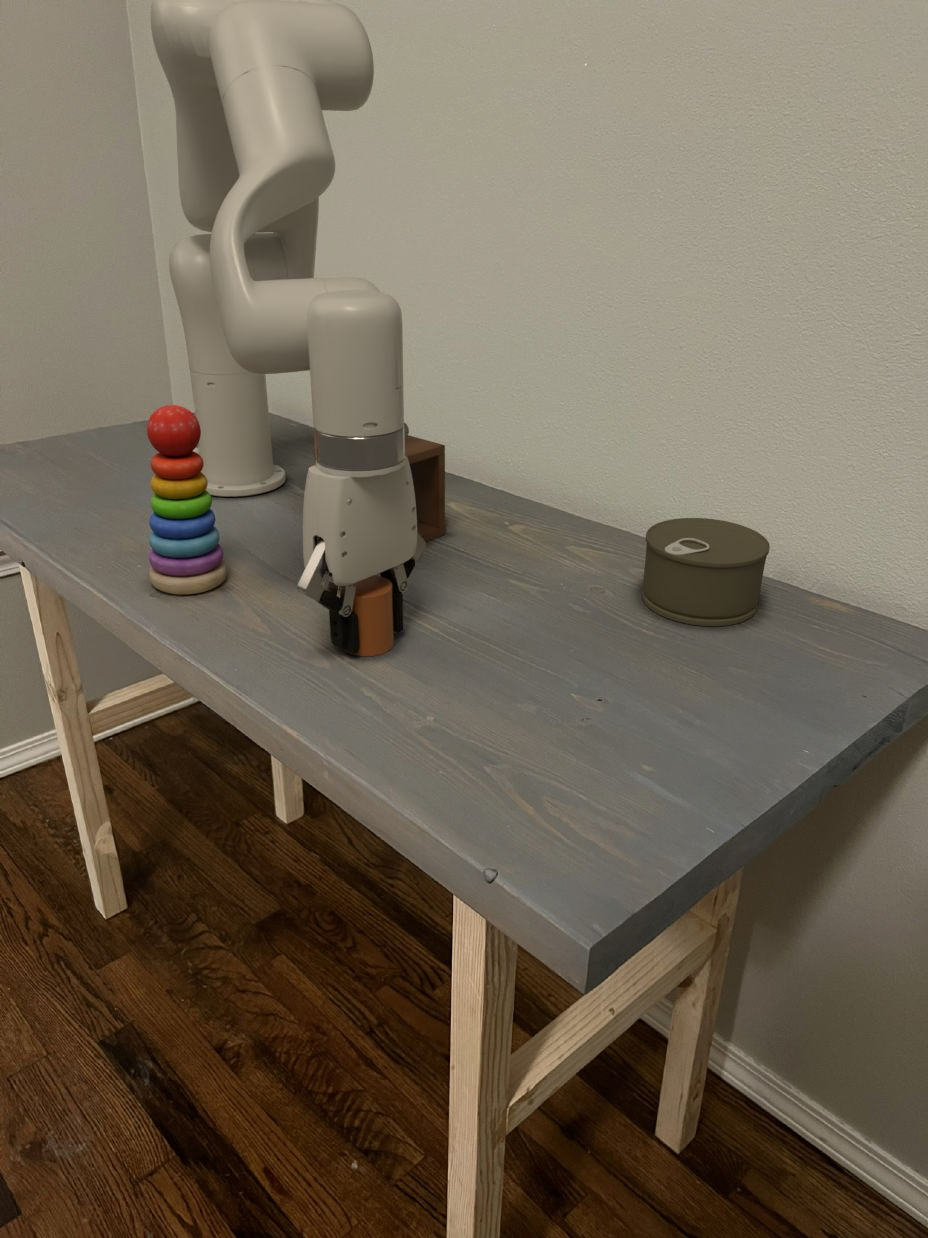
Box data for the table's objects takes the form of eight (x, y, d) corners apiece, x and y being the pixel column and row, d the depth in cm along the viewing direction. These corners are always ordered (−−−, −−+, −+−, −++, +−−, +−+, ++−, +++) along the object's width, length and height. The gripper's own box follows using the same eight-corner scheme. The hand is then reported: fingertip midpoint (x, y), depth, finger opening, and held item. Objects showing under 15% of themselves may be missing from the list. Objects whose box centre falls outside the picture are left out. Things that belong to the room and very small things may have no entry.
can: (783, 607, 94) (795, 544, 91) (705, 639, 88) (714, 573, 85) (692, 568, 103) (700, 509, 100) (615, 594, 96) (621, 533, 93)
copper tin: (331, 644, 86) (328, 586, 83) (369, 627, 89) (367, 570, 87) (366, 662, 83) (364, 601, 81) (404, 643, 86) (403, 585, 84)
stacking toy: (162, 604, 93) (135, 420, 85) (141, 576, 99) (113, 401, 91) (238, 587, 97) (219, 409, 89) (213, 561, 103) (193, 392, 95)
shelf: (319, 537, 110) (314, 447, 105) (387, 514, 117) (384, 428, 112) (378, 561, 104) (374, 466, 99) (445, 534, 111) (445, 444, 106)
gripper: (400, 420, 86) (404, 597, 94) (249, 459, 74) (269, 657, 83) (460, 435, 81) (459, 620, 89) (310, 480, 70) (324, 687, 78)
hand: (367, 636), depth 86 cm, fingers closed on copper tin, 4 cm apart
